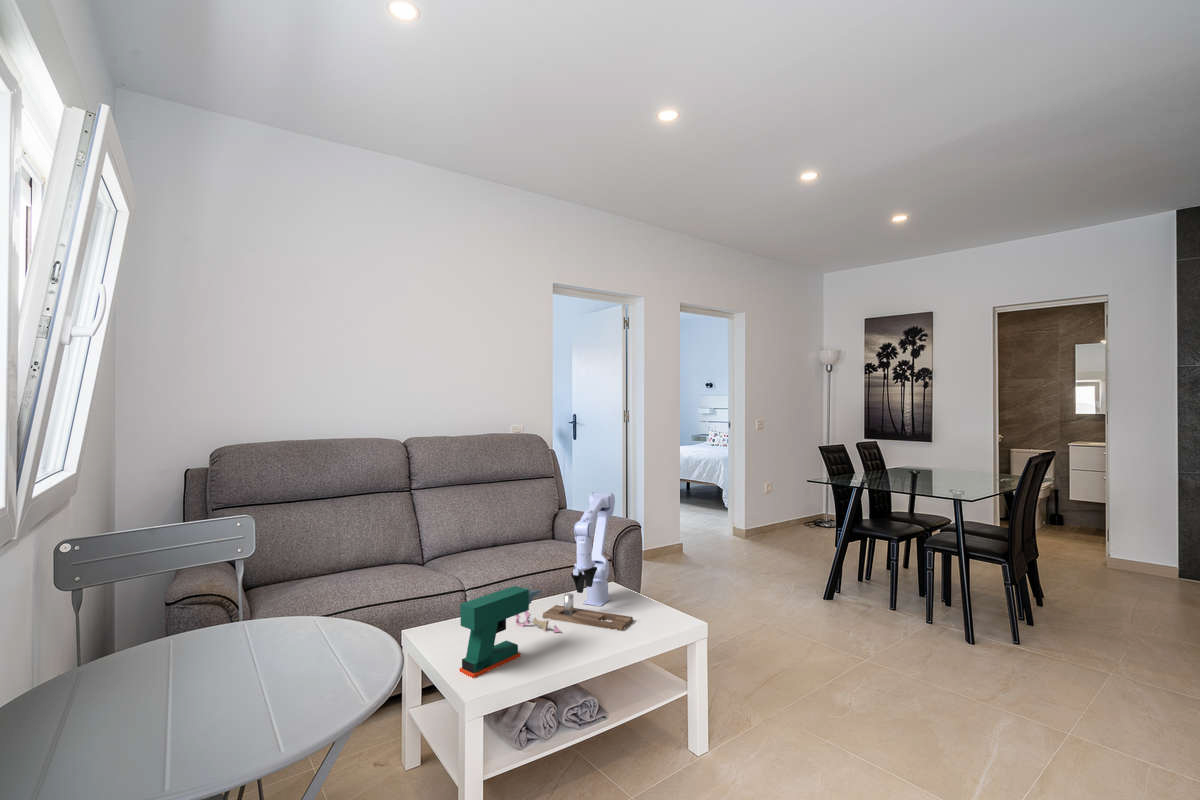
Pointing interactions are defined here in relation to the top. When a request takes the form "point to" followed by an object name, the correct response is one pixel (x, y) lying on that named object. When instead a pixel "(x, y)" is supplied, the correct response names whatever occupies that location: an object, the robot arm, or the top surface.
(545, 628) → the decorative key
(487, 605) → the power tool
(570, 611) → the steel rod
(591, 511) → the robot arm
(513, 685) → the top surface
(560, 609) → the walnut board
